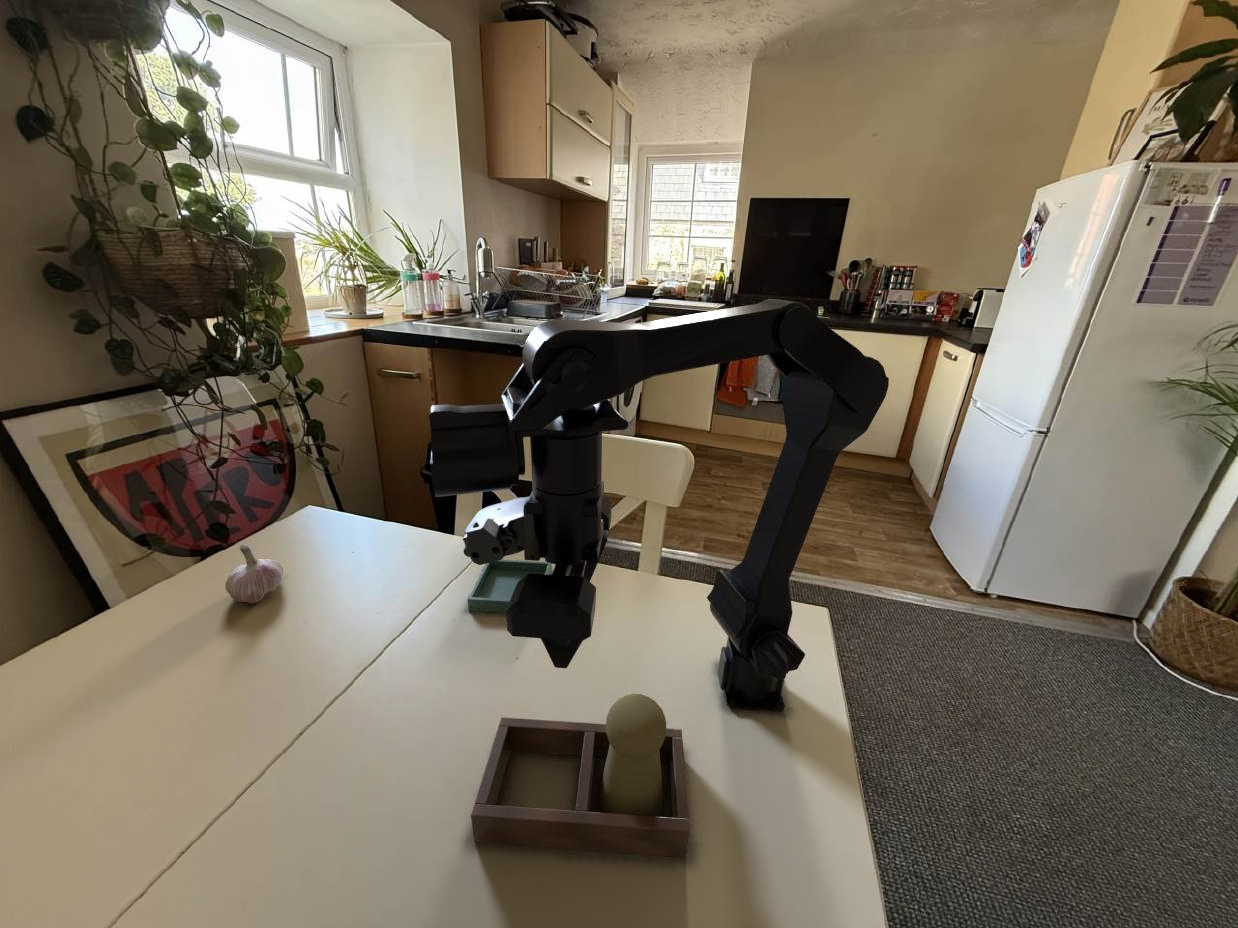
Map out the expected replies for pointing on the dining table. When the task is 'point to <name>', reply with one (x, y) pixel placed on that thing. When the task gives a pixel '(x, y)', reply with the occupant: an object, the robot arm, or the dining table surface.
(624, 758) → the tan pawn
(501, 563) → the tray
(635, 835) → the divided wooden box
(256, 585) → the garlic bulb
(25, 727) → the dining table surface
